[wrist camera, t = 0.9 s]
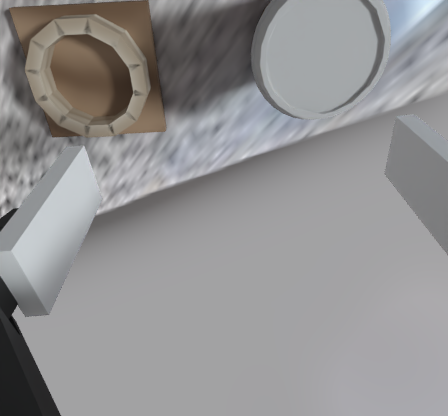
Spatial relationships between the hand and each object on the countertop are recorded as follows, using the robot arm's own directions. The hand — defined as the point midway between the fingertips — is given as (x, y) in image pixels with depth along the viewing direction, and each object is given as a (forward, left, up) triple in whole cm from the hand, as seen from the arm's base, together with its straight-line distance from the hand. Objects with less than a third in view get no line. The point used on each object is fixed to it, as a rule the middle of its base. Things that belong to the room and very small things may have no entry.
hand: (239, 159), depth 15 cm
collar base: (+1, -13, -23) cm, 26 cm away
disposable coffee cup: (-2, +6, -23) cm, 24 cm away
